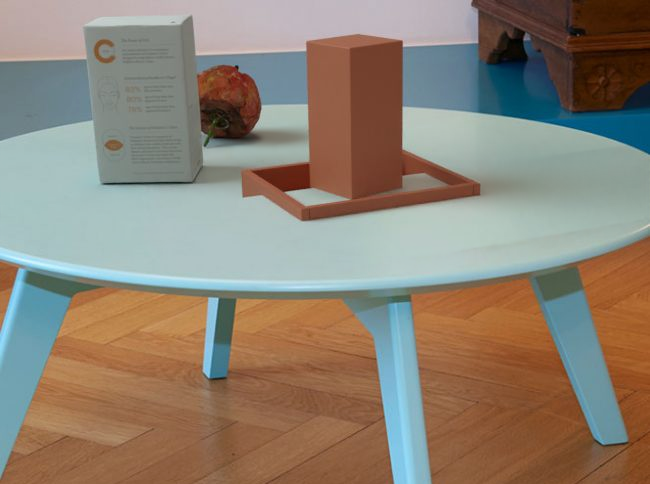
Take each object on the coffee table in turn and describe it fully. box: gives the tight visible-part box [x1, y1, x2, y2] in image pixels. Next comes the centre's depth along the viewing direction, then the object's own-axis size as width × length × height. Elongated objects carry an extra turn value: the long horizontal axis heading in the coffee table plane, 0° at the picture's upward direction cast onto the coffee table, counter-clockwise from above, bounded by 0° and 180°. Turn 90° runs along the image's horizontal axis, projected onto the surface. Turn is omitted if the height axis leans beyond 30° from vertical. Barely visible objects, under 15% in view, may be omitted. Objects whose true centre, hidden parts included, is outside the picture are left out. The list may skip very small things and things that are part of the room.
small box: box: [82, 14, 204, 184], centre depth 95 cm, size 8×6×13 cm
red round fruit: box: [197, 64, 263, 148], centre depth 108 cm, size 7×7×10 cm
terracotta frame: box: [240, 149, 481, 222], centre depth 86 cm, size 14×12×3 cm
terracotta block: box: [305, 33, 404, 200], centre depth 84 cm, size 5×5×12 cm
